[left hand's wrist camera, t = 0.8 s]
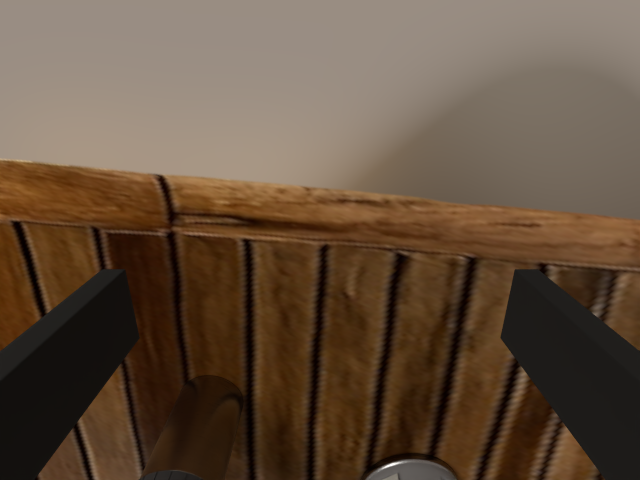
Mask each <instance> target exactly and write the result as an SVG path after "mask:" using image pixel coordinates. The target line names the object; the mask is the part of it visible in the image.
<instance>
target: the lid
mask: <svg viewBox="0 0 640 480" xmlns="http://www.w3.org/2000/svg"><path fill="white" fill-rule="evenodd" d="M139 480H203V479H202V478H200V477H198V476H196V475H193V474H190V473H187V472H182V471H175V470H164V471H157V472H153V473H150V474H147V475H145V476H143V477H142V478H140V479H139Z"/></svg>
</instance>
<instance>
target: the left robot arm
mask: <svg viewBox="0 0 640 480" xmlns="http://www.w3.org/2000/svg"><path fill="white" fill-rule="evenodd" d="M138 339H139V333H138V329H137V324H136V319H135V314H134V310H133V305H132V300H131V295H130V291H129V286H128V281H127V276H126V272H125V269H102V270H101V271H100V272H99V273H97V274H96V275H95V276H94V277H92V278H91V279H90V280H89V281H87V282H86V283H85V284H84V285H82V286H81V287H80V288H79V289H77V290H76V291H75V292H74V293H72V294H71V295H70V296H69V297H67V298H66V299H65V300H64V301H62V302H61V303H60V304H59V305H57V306H56V307H55V308H54V309H52V310H51V311H50V312H49V313H48V314H46V315H45V316H44V317H43V318H41V319H40V320H39V321H38V322H36V323H35V324H34V325H33V326H31V327H30V328H29V329H28V330H26V331H25V332H24V333H23V334H21V335H20V336H19V337H18V338H16V339H15V340H14V341H13V342H11V343H10V344H9V345H8V346H6V347H5V348H4V349H3V350H1V351H0V480H34V479H35V478H36V477H37V475H38V474H39V473H40V471H41V470H42V469H43V467H44V466H45V465H46V463H47V462H48V461H49V459H50V458H51V457H52V455H53V454H54V453H55V451H56V450H57V448H58V447H59V446H60V444H61V443H62V442H63V440H64V439H65V438H66V436H67V435H68V434H69V432H70V431H71V430H72V428H73V427H74V426H75V424H76V423H77V422H78V420H79V419H80V417H81V416H82V415H83V413H84V412H85V411H86V409H87V408H88V407H89V405H90V404H91V403H92V401H93V400H94V399H95V397H96V396H97V395H98V393H99V392H100V391H101V389H102V388H103V386H104V385H105V384H106V382H107V381H108V380H109V378H110V377H111V376H112V374H113V373H114V372H115V370H116V369H117V368H118V366H119V365H120V364H121V362H122V361H123V360H124V358H125V357H126V355H127V354H128V353H129V351H130V350H131V349H132V347H133V346H134V345H135V343H136V342H137V341H138ZM501 339H502V341H503V342H504V343H505V345H506V346H507V347H508V349H509V350H510V351H511V353H512V354H513V355H514V357H515V358H516V360H517V361H518V362H519V364H520V365H521V366H522V368H523V369H524V370H525V372H526V373H527V374H528V376H529V377H530V378H531V380H532V381H533V382H534V384H535V385H536V386H537V388H538V389H539V391H540V392H541V393H542V395H543V396H544V397H545V399H546V400H547V401H548V403H549V404H550V405H551V407H552V408H553V409H554V411H555V412H556V413H557V415H558V416H559V417H560V419H561V420H562V422H563V423H564V424H565V426H566V427H567V428H568V430H569V431H570V432H571V434H572V435H573V436H574V438H575V439H576V440H577V442H578V443H579V444H580V446H581V447H582V448H583V450H584V451H585V453H586V454H587V455H588V457H589V458H590V459H591V461H592V462H593V463H594V465H595V466H596V467H597V469H598V470H599V471H600V473H601V474H602V475H603V477H604V478H605V479H606V480H640V351H639V350H637V349H636V348H635V347H634V346H632V345H631V344H630V343H629V342H627V341H626V340H625V339H624V338H622V337H621V336H620V335H619V334H617V333H616V332H615V331H614V330H612V329H611V328H610V327H609V326H607V325H606V324H605V323H604V322H602V321H601V320H600V319H599V318H597V317H596V316H595V315H594V314H592V313H591V312H590V311H589V310H588V309H586V308H585V307H584V306H583V305H581V304H580V303H579V302H578V301H576V300H575V299H574V298H573V297H571V296H570V295H569V294H568V293H566V292H565V291H564V290H563V289H561V288H560V287H559V286H558V285H556V284H555V283H554V282H553V281H551V280H550V279H549V278H548V277H546V276H545V275H544V274H543V273H541V272H540V271H539V270H538V269H515V272H514V276H513V281H512V286H511V291H510V295H509V300H508V305H507V310H506V314H505V319H504V324H503V329H502V333H501ZM361 480H458V479H457V476H456V474H455V472H454V471H453V469H452V468H451V467H450V466H449V465H447V464H446V463H445V462H443V461H441V460H439V459H437V458H435V457H432V456H428V455H423V454H402V455H396V456H392V457H389V458H386V459H384V460H382V461H380V462H378V463H376V464H375V465H373V466H372V467H370V468H369V469H368V470H367V471H366V472H365V473H364V475H363V476H362V478H361Z"/></svg>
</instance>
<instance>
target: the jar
mask: <svg viewBox="0 0 640 480" xmlns="http://www.w3.org/2000/svg"><path fill="white" fill-rule="evenodd" d="M242 407H243V398H242V395H241V393H240V391H239V389H238V388H237V387H236V386H235V385H234V384H233V383H231V382H230V381H228V380H226V379H224V378H221V377H217V376H200V377H196V378H194V379H192V380H190V381H189V382H187V383H186V384H185V385H184V387H183V388H182V390H181V392H180V394H179V397H178V399H177V401H176V403H175V405H174V407H173V409H172V411H171V414H170V416H169V418H168V420H167V422H166V424H165V426H164V429H163V431H162V433H161V435H160V437H159V439H158V441H157V443H156V446H155V448H154V450H153V452H152V454H151V456H150V458H149V461H148V463H147V465H146V467H145V469H144V471H143V473H142V475H141V478H142V477H143V476H145V475H147V474H150V473H153V472H157V471H164V470H175V471H182V472H187V473H190V474H193V475H196V476H198V477H200V478H202V479H203V480H225V476H226V472H227V468H228V464H229V460H230V456H231V452H232V448H233V443H234V439H235V435H236V431H237V427H238V423H239V419H240V415H241V411H242Z"/></svg>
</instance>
